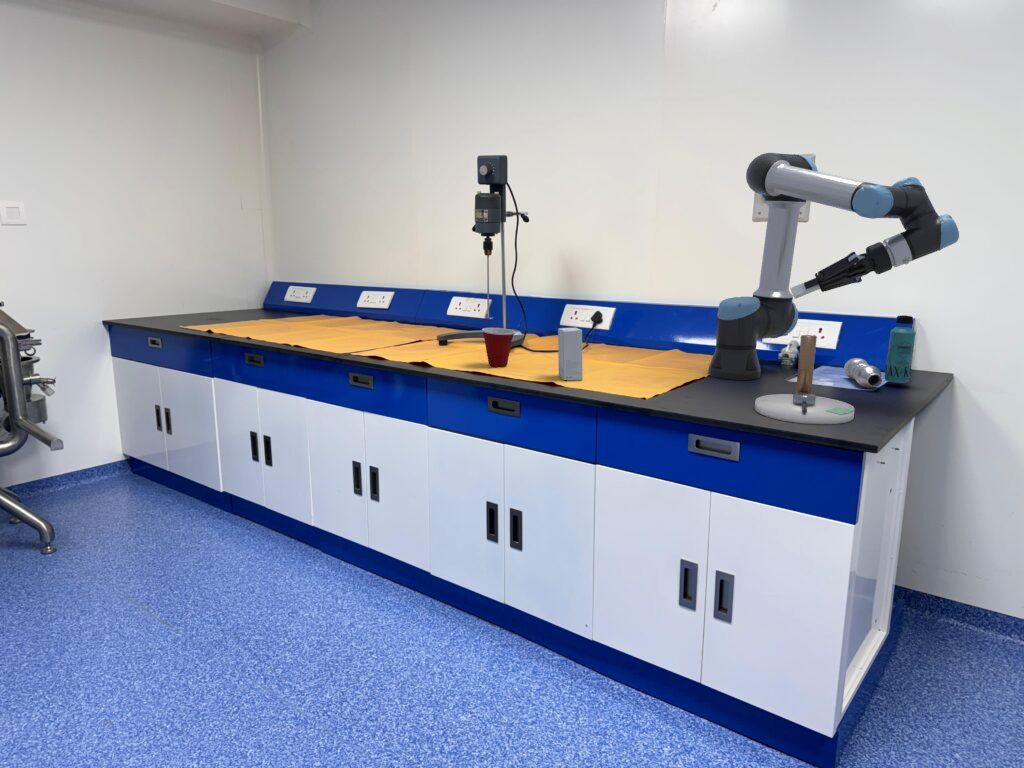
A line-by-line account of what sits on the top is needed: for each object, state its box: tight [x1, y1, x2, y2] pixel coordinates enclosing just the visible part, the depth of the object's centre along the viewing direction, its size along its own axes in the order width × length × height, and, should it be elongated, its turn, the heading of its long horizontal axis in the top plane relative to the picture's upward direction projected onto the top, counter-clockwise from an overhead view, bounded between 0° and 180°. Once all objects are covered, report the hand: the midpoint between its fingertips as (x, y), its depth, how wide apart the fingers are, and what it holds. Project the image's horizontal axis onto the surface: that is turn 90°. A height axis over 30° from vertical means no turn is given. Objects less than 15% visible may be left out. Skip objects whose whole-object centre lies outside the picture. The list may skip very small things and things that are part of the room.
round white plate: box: [754, 393, 855, 425], centre depth 168 cm, size 22×22×2 cm
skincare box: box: [557, 327, 584, 381], centre depth 206 cm, size 8×6×15 cm
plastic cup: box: [481, 327, 516, 368], centre depth 225 cm, size 11×11×12 cm
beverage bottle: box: [883, 315, 917, 384], centre depth 196 cm, size 6×7×20 cm
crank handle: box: [792, 334, 818, 412], centre depth 166 cm, size 21×5×15 cm, turn 158°
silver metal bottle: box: [843, 357, 883, 389], centre depth 199 cm, size 6×7×20 cm
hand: (792, 293), depth 183 cm, fingers closed
